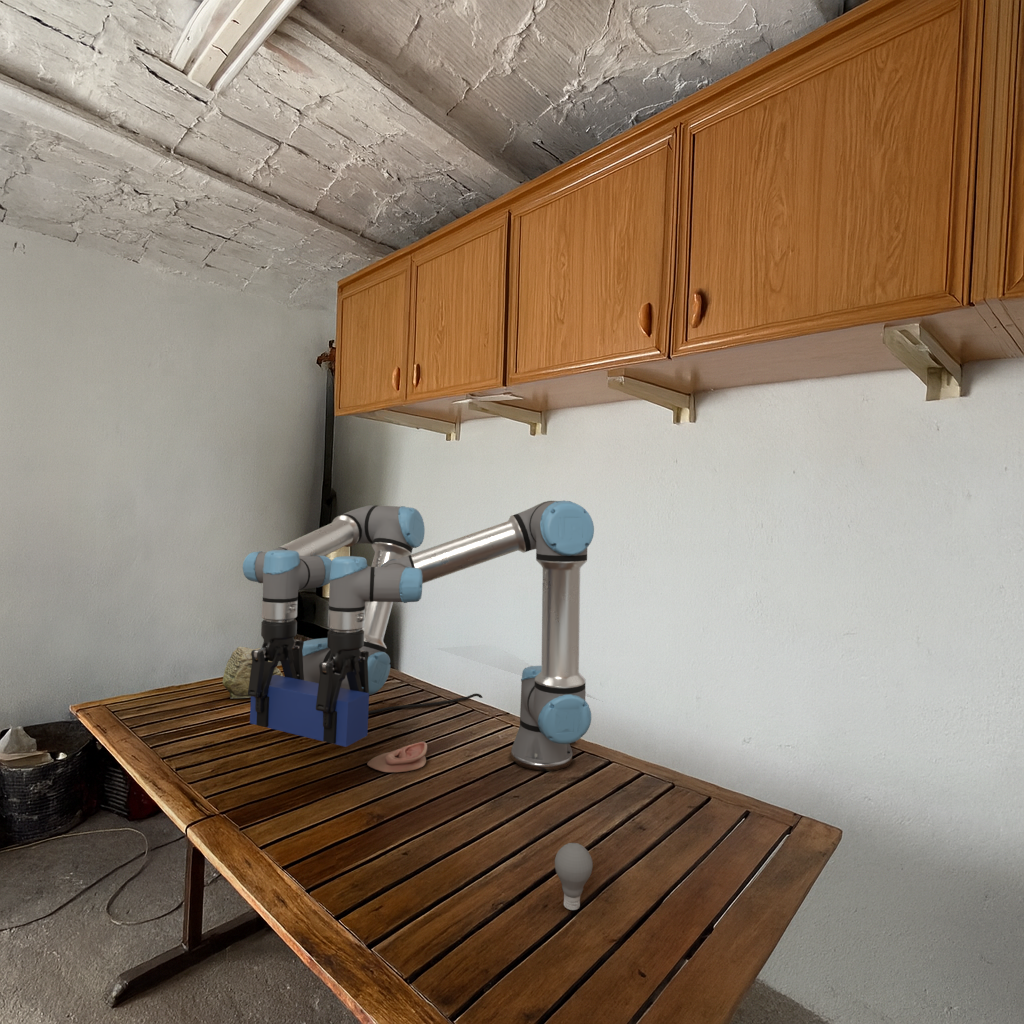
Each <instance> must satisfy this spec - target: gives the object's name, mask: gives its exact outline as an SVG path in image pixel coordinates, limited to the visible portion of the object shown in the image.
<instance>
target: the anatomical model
mask: <svg viewBox="0 0 1024 1024" xmlns="http://www.w3.org/2000/svg"><path fill="white" fill-rule="evenodd" d="M427 752H428V744H427V743H426V742H425V741H420V742H415V743H412V744H409V745H405V746H402V747H399V748H398V749H394V750H391V751H389V752H384V753H381V754H379V755H376V756H374V757H372V758H371V759H369V760H368V761H367V763H366V764H367V766H368V767H370V768H371V769H373V770H375V771H379V772H383V773H402V772H409V771H414V770H418V769H421V768H422V767H424V766H425V765H426V764H427V758H426V754H427Z"/></svg>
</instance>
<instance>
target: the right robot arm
mask: <svg viewBox="0 0 1024 1024" xmlns="http://www.w3.org/2000/svg"><path fill="white" fill-rule="evenodd" d="M594 535H595V526H594V521H593V519H592V516H591V515H590V513H589V512H588V511H587V510H586V508H584V507H583V506H582V505H581V504H578V503H576V502H573V501H570V500H547V501H543V502H541V503H538V504H536V505H534V506H532V507H530V508H528V509H525V510H523V511H521V512H518V513H515V514H512V515H510V516H509V518H508V520H507V521H505V522H501V523H499V524H496V525H493V526H490V527H487V528H485V529H481V530H479V531H475V532H473V533H469V534H467V535H463V536H461V537H458V538H455V539H452V540H449V541H446V542H444V543H440V544H438V545H435V546H432V547H429V548H426V549H422V550H420V551H417V552H414V553H411V555H409V556H405V557H403V558H400V559H392V560H389V561H387V562H385V563H384V564H383V565H382V566H381V567H371V566H372V565H371V566H370V565H368V560H367V559H366V558H365V557H363V556H355V555H343V556H336V557H334V558H333V559H331V561H332V562H331V571H330V582H329V584H328V588H329V589H328V590H329V591H328V592H329V593H328V611H327V613H328V615H327V627H328V629H329V630H328V631H327V638H328V640H327V646H328V648H329V649H330V650H331V654H330V657H329V660H328V661H327V662H320V664H319V669H320V678H319V686H318V693H317V701H316V710H318V711H323V727H324V736H323V741H322V742H324V741H325V743H328V742H329V743H328V744H332V743H333V745H335V744H334V743H336V730H337V711H334V710H335V706H336V702H337V699H338V695H339V691H340V687H341V684H342V680H344V679H345V676H346V675H347V679H348V684H349V688H350V690H355V691H360V692H365V693H369V684H368V656H369V652H368V651H363V650H360V648H362V647H363V645H364V631H363V630H362V628H363V627H364V613H365V602H369V601H370V602H393V603H403V604H407V603H417V602H419V601H421V599H422V595H423V585H424V584H425V583H428V582H431V581H435V580H437V579H441V578H443V577H446V576H449V575H451V574H454V573H457V572H460V571H463V570H467V569H468V568H471V567H475V566H477V565H481V564H483V563H487V562H489V561H492V560H495V559H497V558H500V557H503V556H507V555H509V554H512V553H514V552H517V551H519V552H521V553H527V552H530V551H533V550H534V551H535V560H536V562H537V563H538V564H539V565H540V566H541V568H542V583H541V584H542V589H541V590H542V591H541V595H542V596H541V601H542V602H541V665H531V666H526V667H525V668H524V669H522V672H521V678H520V682H521V683H520V684H521V685H520V689H521V690H520V710H519V711H520V712H519V727H518V730H517V733H516V735H515V738H514V741H513V744H512V746H511V751H510V759H511V761H512V762H513V763H515V764H516V765H518V766H520V767H522V768H525V769H528V770H532V771H540V772H553V771H558V770H559V771H560V770H562V769H565V768H567V767H569V766H570V765H571V764H572V763H573V762H572V761H573V751H572V746H571V744H575V743H576V742H577V741H580V739H581V738H582V737H583V736H584V735H585V734H587V733H588V731H589V729H590V726H591V723H592V710H591V708H590V705H589V703H588V702H587V701H586V678H585V677H584V675H582V674H581V673H580V633H581V631H580V630H581V629H580V628H581V627H580V625H581V624H580V623H581V622H580V621H581V618H580V617H581V568H582V567H583V566H584V565H585V564H586V563H587V562H588V547H589V546H590V545H591V543H592V541H593V538H594ZM335 673H337V674H340V675H337V674H335ZM362 687H364V688H362ZM329 704H330V706H329Z"/></svg>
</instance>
